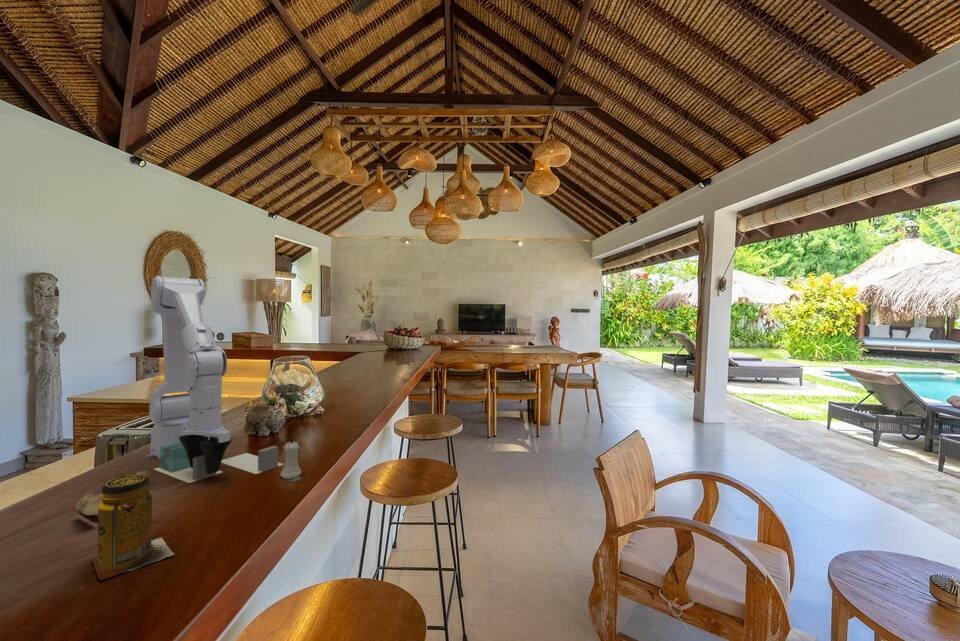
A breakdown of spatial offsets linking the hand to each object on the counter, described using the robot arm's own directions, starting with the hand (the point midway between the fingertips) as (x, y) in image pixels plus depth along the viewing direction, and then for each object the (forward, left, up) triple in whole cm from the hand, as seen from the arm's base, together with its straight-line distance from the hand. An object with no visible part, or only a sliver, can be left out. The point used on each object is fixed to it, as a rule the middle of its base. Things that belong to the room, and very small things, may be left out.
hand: (204, 469), depth 90 cm
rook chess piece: (+15, +10, -3) cm, 18 cm away
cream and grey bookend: (+1, +10, -2) cm, 10 cm away
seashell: (-1, -14, -3) cm, 15 cm away
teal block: (-10, 0, -2) cm, 10 cm away
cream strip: (-6, 0, -2) cm, 7 cm away
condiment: (+20, -21, -3) cm, 29 cm away
